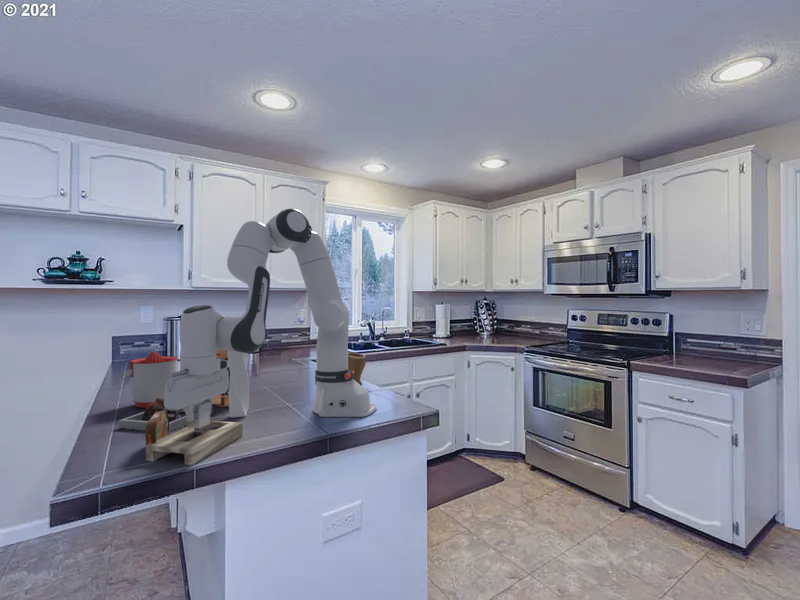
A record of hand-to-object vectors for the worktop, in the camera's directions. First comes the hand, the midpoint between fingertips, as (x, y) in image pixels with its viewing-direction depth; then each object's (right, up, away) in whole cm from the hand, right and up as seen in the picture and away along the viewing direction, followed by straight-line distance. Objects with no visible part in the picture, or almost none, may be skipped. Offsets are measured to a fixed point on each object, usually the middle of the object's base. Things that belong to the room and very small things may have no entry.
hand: (198, 417), depth 105 cm
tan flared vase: (+33, -7, +69) cm, 77 cm away
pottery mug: (-24, -8, +22) cm, 34 cm away
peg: (0, -7, 0) cm, 7 cm away
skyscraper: (-1, -8, +28) cm, 29 cm away
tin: (-11, -8, -1) cm, 13 cm away
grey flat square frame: (-21, -8, +22) cm, 32 cm away
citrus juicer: (-39, -8, +41) cm, 57 cm away
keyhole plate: (0, -8, -1) cm, 8 cm away
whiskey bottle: (-11, -8, +43) cm, 45 cm away
